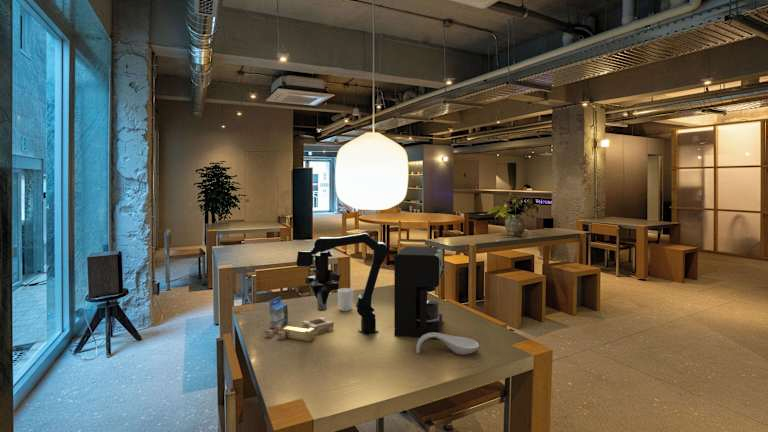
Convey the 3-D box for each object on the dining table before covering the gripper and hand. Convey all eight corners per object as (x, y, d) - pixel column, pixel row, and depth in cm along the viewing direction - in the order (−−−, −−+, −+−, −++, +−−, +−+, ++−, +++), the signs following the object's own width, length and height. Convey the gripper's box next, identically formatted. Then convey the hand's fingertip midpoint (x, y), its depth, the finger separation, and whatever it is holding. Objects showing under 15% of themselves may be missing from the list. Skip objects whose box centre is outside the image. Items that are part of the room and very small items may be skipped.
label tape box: (277, 328, 177) (276, 301, 176) (269, 327, 178) (269, 300, 178) (288, 322, 185) (287, 296, 185) (280, 321, 187) (280, 295, 186)
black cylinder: (328, 309, 171) (328, 291, 171) (320, 311, 169) (320, 293, 168) (324, 307, 175) (323, 289, 174) (315, 309, 172) (315, 291, 172)
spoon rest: (474, 345, 158) (474, 328, 158) (482, 358, 147) (482, 339, 146) (414, 346, 158) (414, 328, 157) (417, 359, 146) (418, 339, 146)
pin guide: (294, 333, 171) (293, 327, 171) (283, 339, 164) (283, 333, 164) (276, 330, 175) (275, 324, 174) (265, 336, 168) (265, 330, 168)
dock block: (333, 330, 175) (333, 322, 175) (313, 335, 169) (312, 327, 169) (322, 324, 183) (322, 316, 183) (302, 328, 177) (302, 321, 177)
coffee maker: (439, 343, 160) (440, 256, 158) (391, 339, 164) (391, 255, 162) (443, 320, 188) (444, 246, 185) (402, 318, 191) (402, 245, 189)
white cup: (354, 307, 210) (354, 288, 209) (351, 311, 202) (351, 292, 201) (339, 306, 211) (339, 287, 210) (336, 311, 203) (336, 291, 202)
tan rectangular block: (314, 338, 165) (314, 328, 165) (309, 341, 162) (309, 331, 161) (288, 333, 170) (288, 324, 170) (282, 337, 167) (282, 327, 166)
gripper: (349, 267, 169) (349, 304, 170) (326, 261, 183) (326, 295, 184) (327, 271, 161) (327, 309, 162) (304, 264, 176) (304, 299, 177)
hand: (321, 302), depth 172 cm, fingers closed on black cylinder, 4 cm apart
